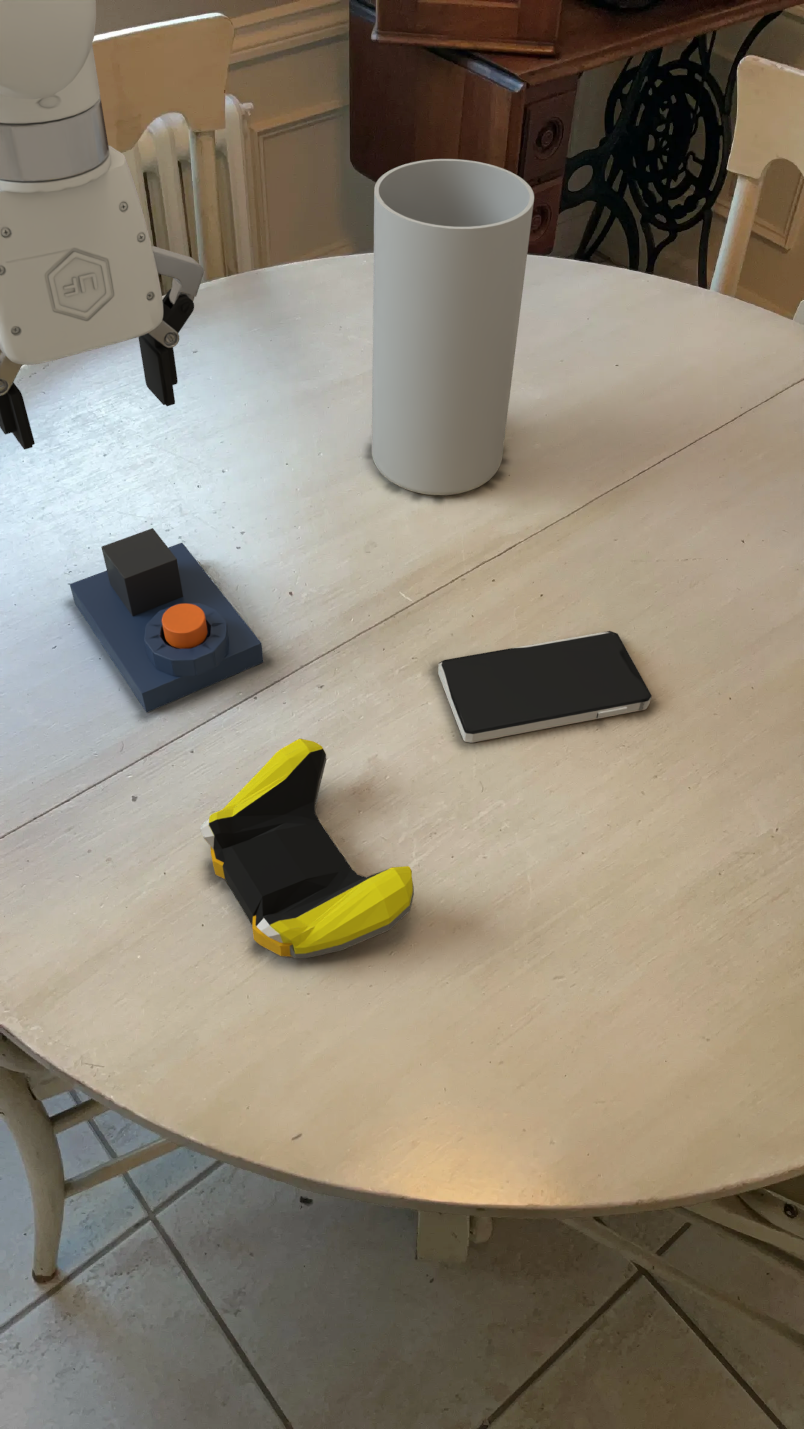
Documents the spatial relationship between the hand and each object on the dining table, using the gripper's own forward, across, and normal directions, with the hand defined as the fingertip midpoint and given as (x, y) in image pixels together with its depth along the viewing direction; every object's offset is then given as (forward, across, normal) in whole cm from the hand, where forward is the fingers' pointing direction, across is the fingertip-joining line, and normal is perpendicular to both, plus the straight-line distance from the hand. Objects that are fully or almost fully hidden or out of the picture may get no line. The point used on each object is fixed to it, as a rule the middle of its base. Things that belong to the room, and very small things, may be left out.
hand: (93, 416), depth 69 cm
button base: (+20, +2, 0) cm, 21 cm away
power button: (+17, +2, -5) cm, 18 cm away
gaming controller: (+21, 0, -26) cm, 34 cm away
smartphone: (+20, +24, -22) cm, 38 cm away
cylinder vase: (+20, +34, +7) cm, 40 cm away
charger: (+18, +2, +2) cm, 18 cm away
